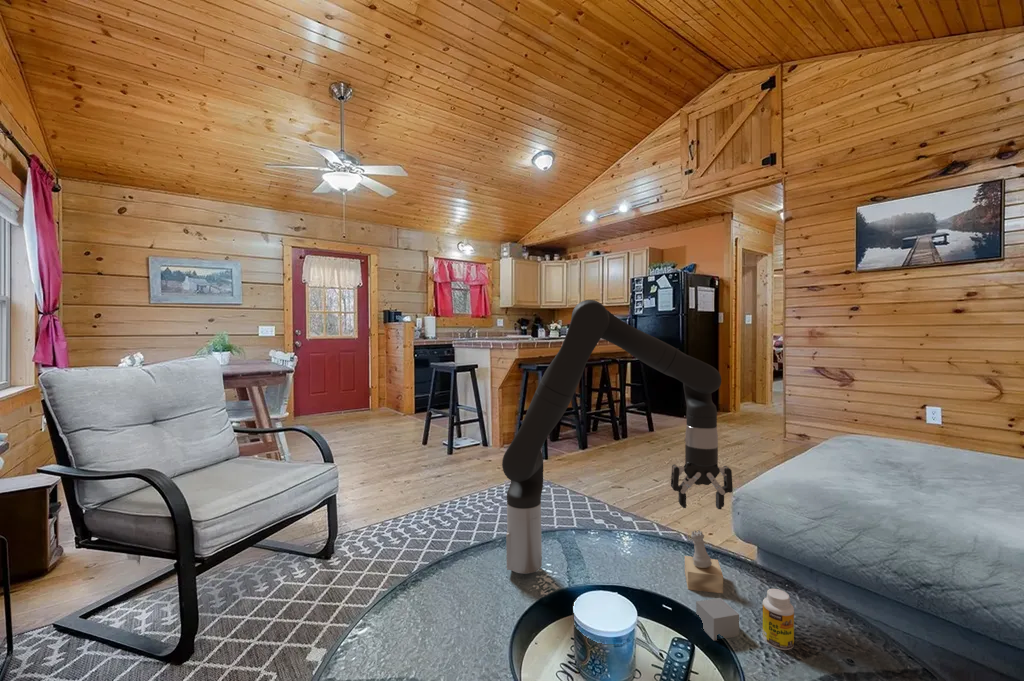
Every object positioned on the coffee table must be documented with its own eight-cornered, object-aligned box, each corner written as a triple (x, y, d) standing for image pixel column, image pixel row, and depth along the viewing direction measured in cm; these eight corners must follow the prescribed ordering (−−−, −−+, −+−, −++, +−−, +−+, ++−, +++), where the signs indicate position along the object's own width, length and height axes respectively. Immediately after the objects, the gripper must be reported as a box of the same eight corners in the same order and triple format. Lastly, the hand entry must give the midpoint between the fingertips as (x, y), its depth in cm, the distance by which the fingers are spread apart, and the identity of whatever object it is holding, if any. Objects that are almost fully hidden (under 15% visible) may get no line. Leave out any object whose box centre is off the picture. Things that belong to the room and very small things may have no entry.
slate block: (713, 642, 92) (713, 618, 92) (696, 623, 98) (696, 601, 98) (739, 637, 94) (739, 614, 93) (720, 619, 99) (720, 597, 99)
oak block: (687, 591, 110) (687, 571, 110) (684, 574, 118) (684, 555, 118) (723, 596, 108) (723, 576, 108) (717, 578, 116) (717, 559, 116)
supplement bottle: (764, 648, 90) (764, 598, 90) (760, 631, 95) (760, 583, 95) (797, 655, 88) (797, 604, 88) (791, 637, 93) (790, 589, 93)
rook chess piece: (700, 559, 116) (694, 527, 117) (716, 564, 112) (710, 531, 113) (689, 565, 113) (683, 533, 114) (705, 570, 110) (698, 536, 110)
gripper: (675, 447, 109) (675, 512, 109) (737, 448, 107) (736, 514, 108) (668, 439, 116) (668, 501, 117) (725, 440, 115) (725, 502, 115)
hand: (701, 507), depth 112 cm, fingers open, 8 cm apart
